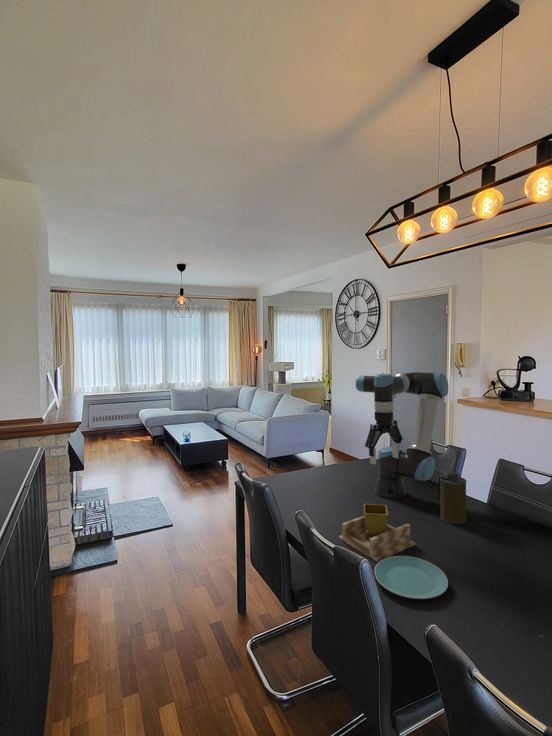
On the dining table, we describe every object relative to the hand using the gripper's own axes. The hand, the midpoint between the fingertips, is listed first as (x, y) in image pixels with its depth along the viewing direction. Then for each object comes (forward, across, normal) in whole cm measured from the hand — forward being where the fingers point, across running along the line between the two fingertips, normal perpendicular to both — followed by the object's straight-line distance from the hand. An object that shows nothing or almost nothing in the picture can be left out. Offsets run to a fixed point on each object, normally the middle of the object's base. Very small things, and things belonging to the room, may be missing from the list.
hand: (384, 460), depth 164 cm
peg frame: (+26, +16, +10) cm, 32 cm away
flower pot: (+22, +16, +10) cm, 29 cm away
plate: (+27, +26, +34) cm, 50 cm away
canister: (+27, -25, +15) cm, 39 cm away
